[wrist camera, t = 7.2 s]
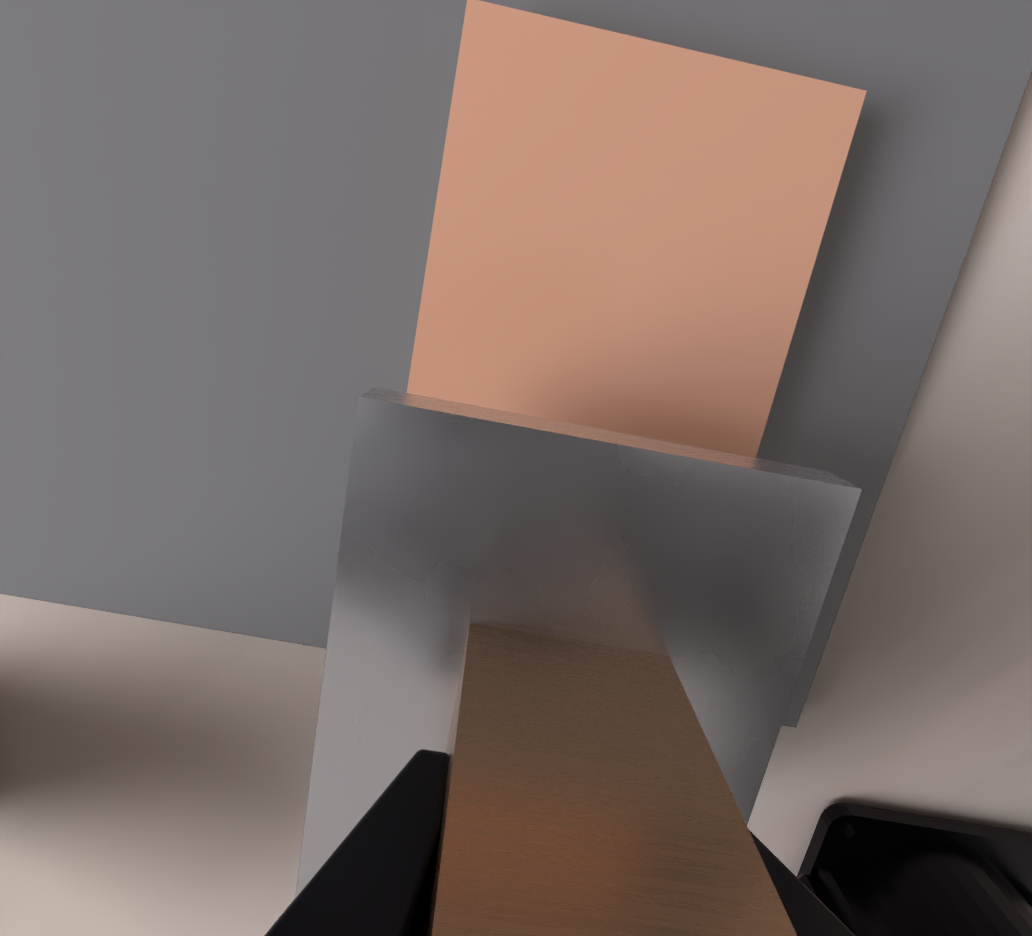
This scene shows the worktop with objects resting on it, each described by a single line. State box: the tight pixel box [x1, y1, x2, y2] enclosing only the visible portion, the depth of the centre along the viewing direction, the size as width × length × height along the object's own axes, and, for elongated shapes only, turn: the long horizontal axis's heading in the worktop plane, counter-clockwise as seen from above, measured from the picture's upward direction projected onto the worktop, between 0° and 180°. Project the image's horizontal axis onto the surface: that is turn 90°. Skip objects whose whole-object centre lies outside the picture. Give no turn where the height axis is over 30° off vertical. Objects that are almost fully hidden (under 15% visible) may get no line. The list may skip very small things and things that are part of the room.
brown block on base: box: [295, 387, 862, 936], centre depth 7 cm, size 9×7×7 cm
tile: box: [407, 0, 867, 458], centre depth 12 cm, size 7×1×7 cm
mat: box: [0, 0, 1032, 727], centre depth 13 cm, size 22×19×1 cm
